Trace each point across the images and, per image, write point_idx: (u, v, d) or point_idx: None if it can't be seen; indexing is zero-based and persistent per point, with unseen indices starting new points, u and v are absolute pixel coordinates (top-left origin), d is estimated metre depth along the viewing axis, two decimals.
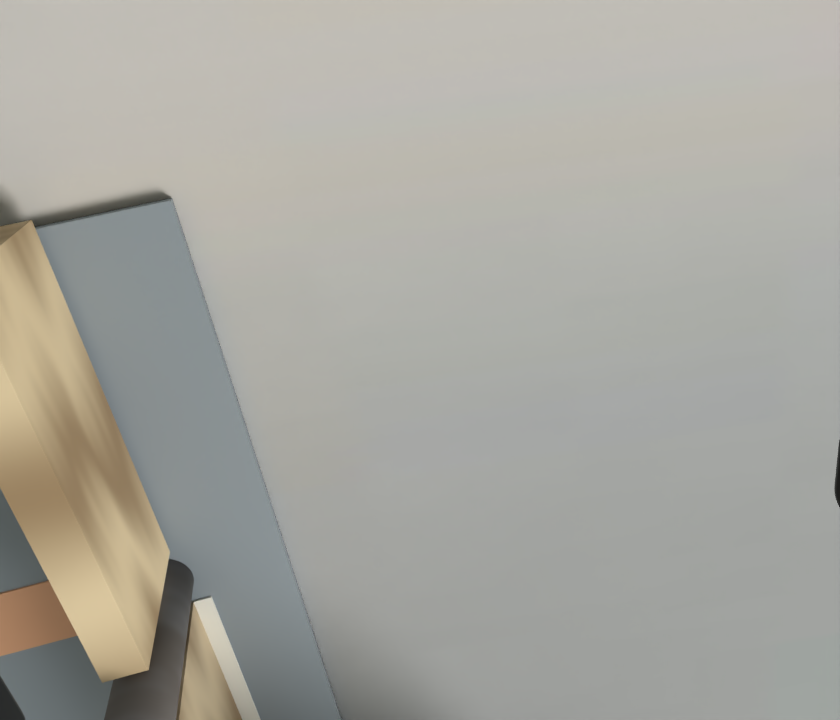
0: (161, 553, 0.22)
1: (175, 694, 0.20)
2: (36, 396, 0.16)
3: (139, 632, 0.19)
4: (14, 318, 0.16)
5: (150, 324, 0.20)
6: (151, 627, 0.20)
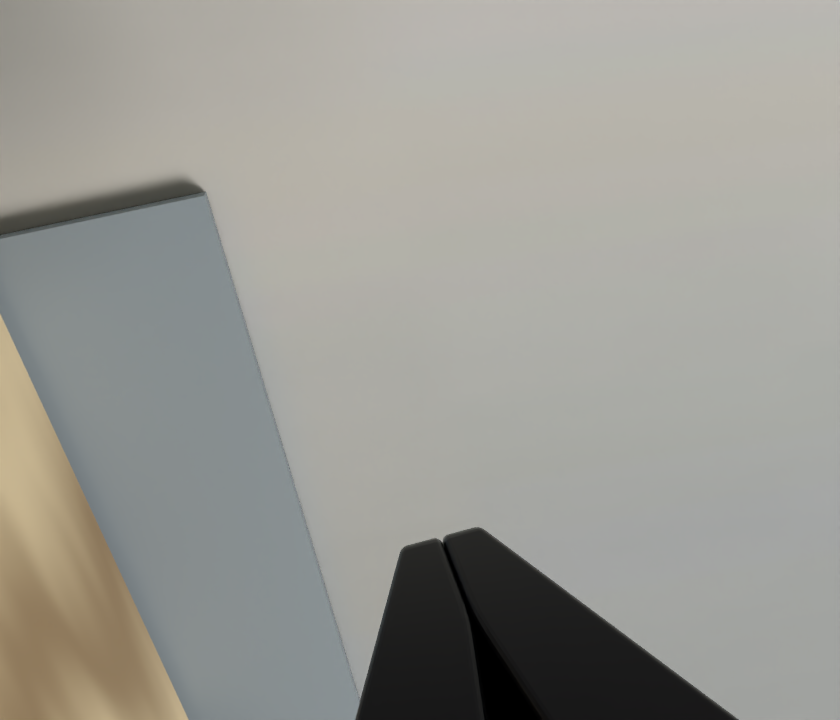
0: None
1: None
2: None
3: None
4: None
5: (167, 399, 0.12)
6: None
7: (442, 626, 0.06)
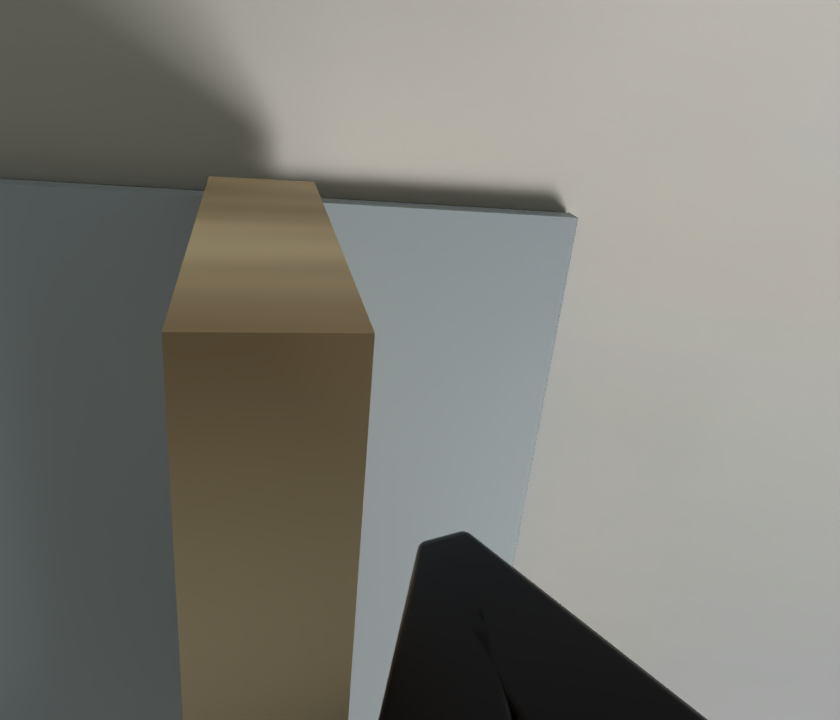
0: None
1: None
2: None
3: None
4: None
5: (437, 428, 0.11)
6: None
7: (464, 620, 0.06)
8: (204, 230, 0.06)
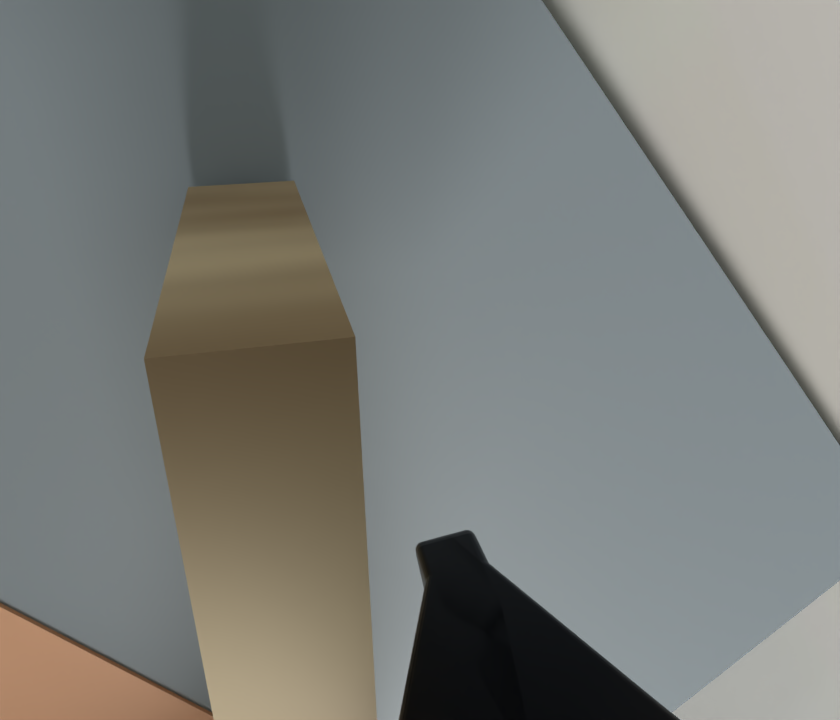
0: None
1: None
2: None
3: None
4: None
5: (734, 598, 0.14)
6: None
7: (482, 615, 0.06)
8: (184, 245, 0.06)
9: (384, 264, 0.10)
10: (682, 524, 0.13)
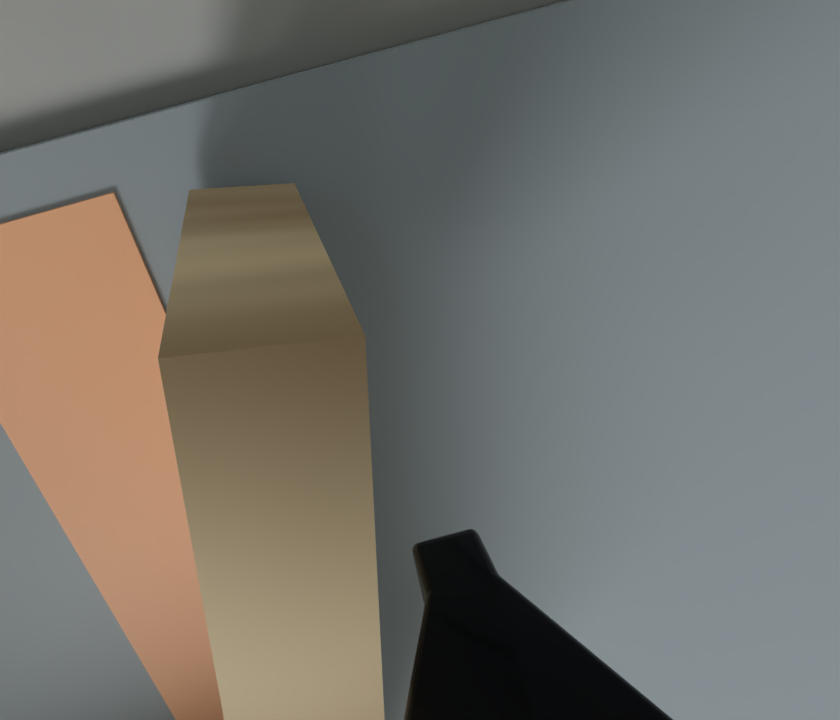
0: None
1: None
2: None
3: None
4: None
5: None
6: None
7: (487, 614, 0.06)
8: (190, 247, 0.06)
9: (696, 364, 0.12)
10: (737, 660, 0.15)
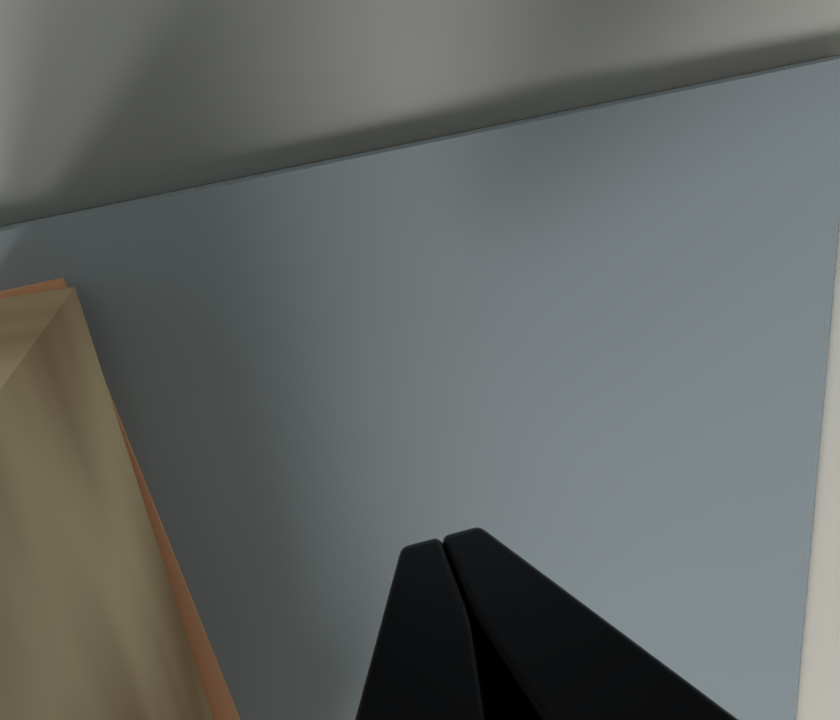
0: None
1: None
2: None
3: None
4: (38, 559, 0.06)
5: None
6: None
7: (442, 626, 0.06)
8: None
9: (628, 462, 0.12)
10: None
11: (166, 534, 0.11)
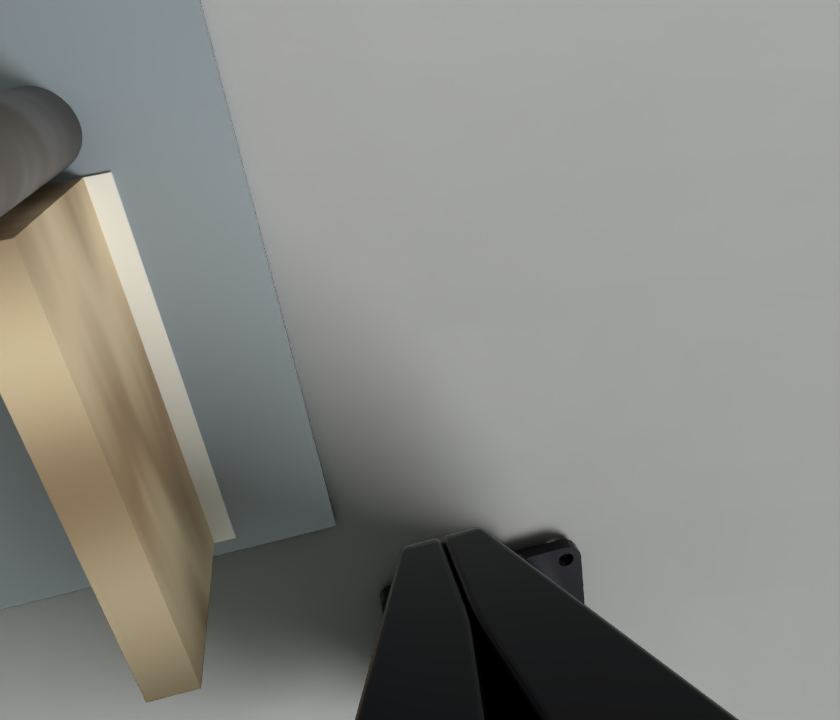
0: None
1: (6, 160, 0.11)
2: None
3: None
4: None
5: None
6: None
7: (442, 626, 0.06)
8: None
9: None
10: None
11: None
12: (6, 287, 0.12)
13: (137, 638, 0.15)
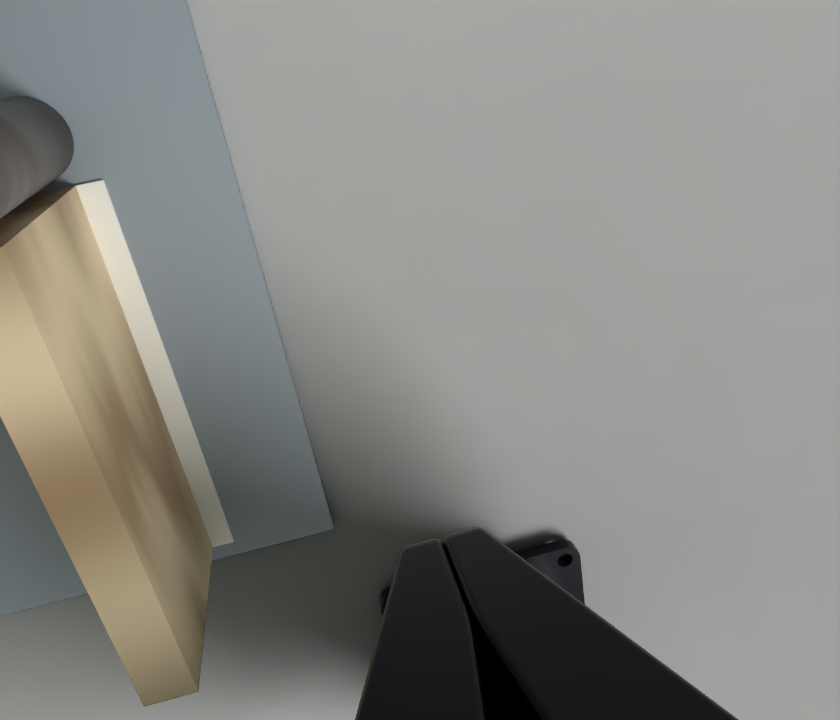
0: None
1: None
2: None
3: None
4: None
5: None
6: None
7: (442, 626, 0.06)
8: None
9: None
10: None
11: None
12: None
13: (134, 642, 0.15)
